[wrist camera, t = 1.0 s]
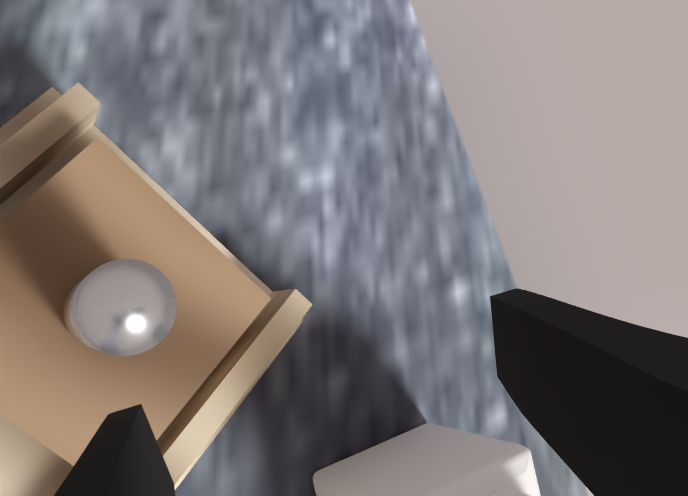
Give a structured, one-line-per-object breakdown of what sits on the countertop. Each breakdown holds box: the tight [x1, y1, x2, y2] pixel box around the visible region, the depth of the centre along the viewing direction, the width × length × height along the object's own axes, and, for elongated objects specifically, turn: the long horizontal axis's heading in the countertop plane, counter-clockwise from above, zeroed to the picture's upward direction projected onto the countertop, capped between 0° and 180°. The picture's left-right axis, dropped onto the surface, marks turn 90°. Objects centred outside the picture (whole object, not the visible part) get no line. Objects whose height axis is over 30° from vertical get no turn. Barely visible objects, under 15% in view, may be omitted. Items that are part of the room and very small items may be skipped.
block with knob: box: [0, 138, 271, 466], centre depth 18 cm, size 8×8×9 cm
